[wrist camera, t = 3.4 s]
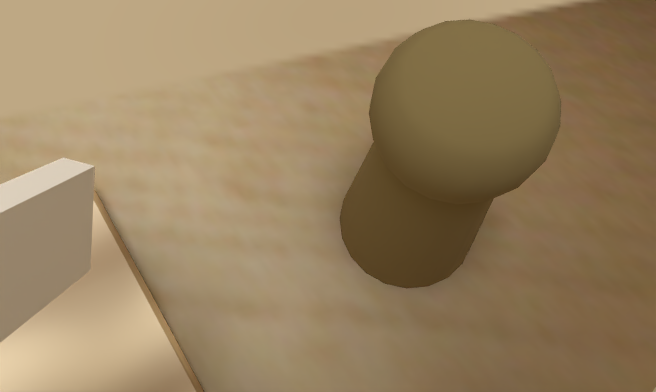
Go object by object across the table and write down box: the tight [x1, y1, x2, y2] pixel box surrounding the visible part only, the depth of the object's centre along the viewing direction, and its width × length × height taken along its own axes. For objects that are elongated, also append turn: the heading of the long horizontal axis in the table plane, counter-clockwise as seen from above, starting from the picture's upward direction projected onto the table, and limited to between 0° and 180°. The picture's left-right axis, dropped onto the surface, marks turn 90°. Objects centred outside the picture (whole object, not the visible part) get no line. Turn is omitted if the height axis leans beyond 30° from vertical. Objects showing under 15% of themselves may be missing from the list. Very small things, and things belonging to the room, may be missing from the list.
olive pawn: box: [340, 20, 561, 288], centre depth 18 cm, size 6×6×11 cm
